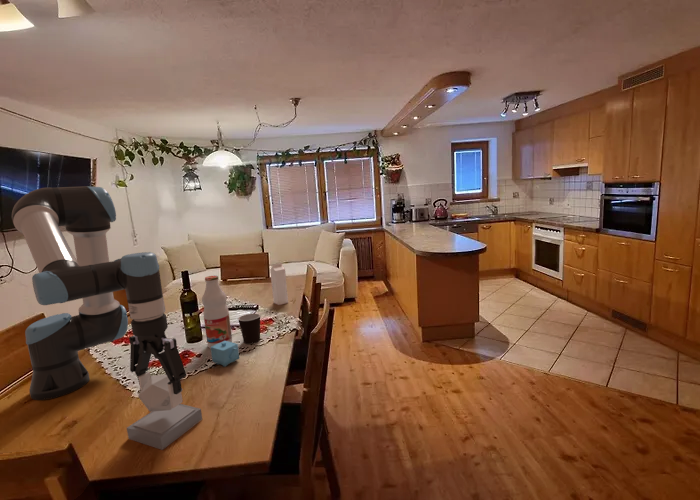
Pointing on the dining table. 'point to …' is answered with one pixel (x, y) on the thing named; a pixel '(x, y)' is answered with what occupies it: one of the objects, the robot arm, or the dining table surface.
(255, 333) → the black cup
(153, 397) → the die
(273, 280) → the milk
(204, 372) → the dining table surface
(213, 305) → the fruit juice
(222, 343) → the blue spouted cube
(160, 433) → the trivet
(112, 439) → the dining table surface
